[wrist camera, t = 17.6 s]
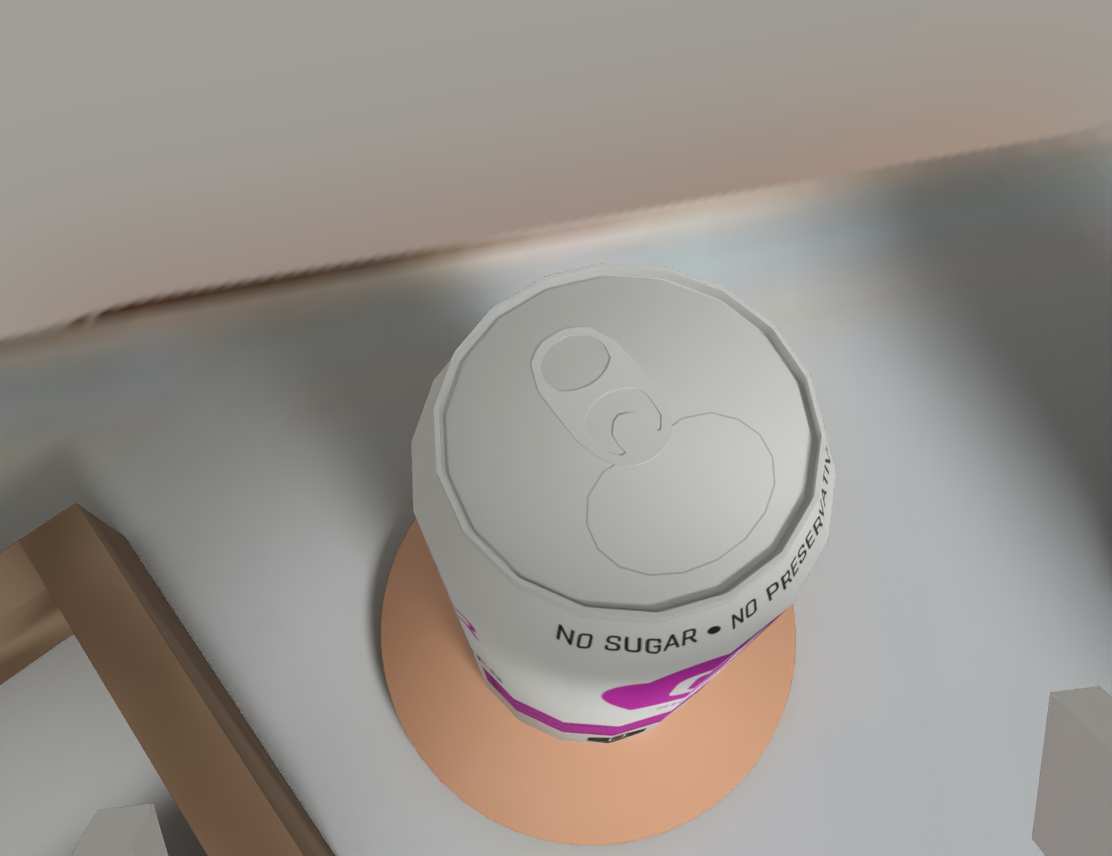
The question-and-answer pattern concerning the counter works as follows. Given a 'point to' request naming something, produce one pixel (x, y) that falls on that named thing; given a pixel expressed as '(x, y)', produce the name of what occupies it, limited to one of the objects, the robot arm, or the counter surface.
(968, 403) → the counter surface
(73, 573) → the walnut collar
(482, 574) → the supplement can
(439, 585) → the terracotta disc
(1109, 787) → the robot arm
